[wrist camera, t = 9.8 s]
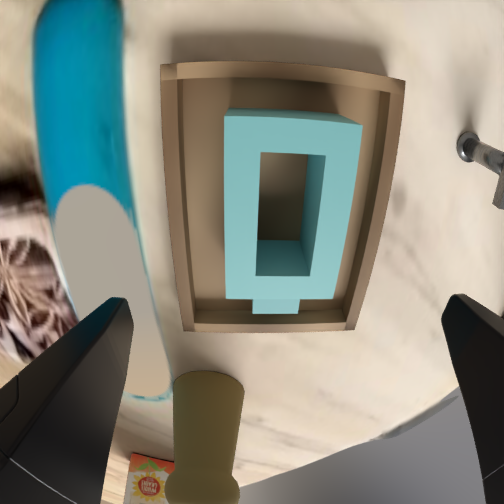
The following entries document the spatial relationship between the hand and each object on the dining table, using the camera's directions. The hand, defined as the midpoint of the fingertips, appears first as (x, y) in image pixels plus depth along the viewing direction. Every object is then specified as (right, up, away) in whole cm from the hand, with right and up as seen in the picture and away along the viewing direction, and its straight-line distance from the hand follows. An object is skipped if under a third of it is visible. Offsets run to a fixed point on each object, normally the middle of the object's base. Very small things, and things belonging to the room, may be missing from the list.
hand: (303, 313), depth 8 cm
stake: (+11, +8, +6) cm, 15 cm away
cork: (-5, -10, +17) cm, 20 cm away
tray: (0, +4, +8) cm, 9 cm away
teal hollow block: (0, +4, +7) cm, 9 cm away
